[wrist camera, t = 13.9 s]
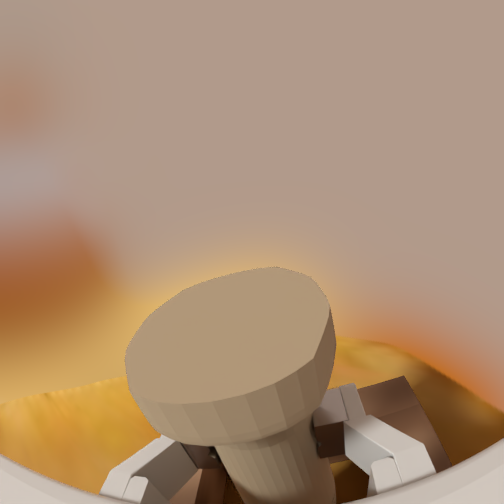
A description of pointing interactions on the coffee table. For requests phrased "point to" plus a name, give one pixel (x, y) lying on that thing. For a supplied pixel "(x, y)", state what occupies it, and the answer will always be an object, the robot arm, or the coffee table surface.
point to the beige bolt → (243, 379)
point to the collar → (374, 403)
